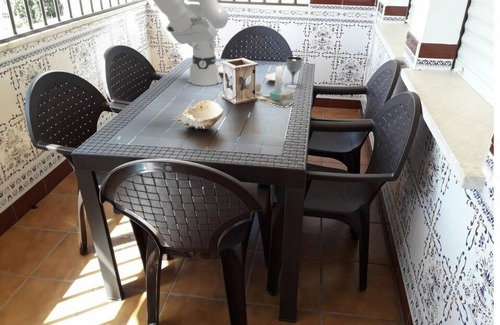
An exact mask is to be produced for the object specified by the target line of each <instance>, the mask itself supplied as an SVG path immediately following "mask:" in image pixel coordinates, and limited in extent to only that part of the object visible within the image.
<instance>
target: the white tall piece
mask: <svg viewBox="0 0 500 325" xmlns="http://www.w3.org/2000/svg"><path fill="white" fill-rule="evenodd" d="M282 79H283V66H279V65H278V66H275V77H274V91H272V92H269V95H270V98H271V99H275V100H279V97H280V94H281V93H284V92H285V91H282V83H283V82H282Z"/></svg>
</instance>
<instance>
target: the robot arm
mask: <svg viewBox="0 0 500 325" xmlns="http://www.w3.org/2000/svg"><path fill="white" fill-rule="evenodd" d="M152 1H153V3H155V5H156V6H157V8H158V9H159V11H160V12H161V13H162V14H164V15H165V16H166V17H167V19H168V21H169V23H168V24H167V26H166V30H167V32H169V33H170V34H171V36H172V37H173V38H174V39H175V41H176V42H178V43H179V44H181V45H184V44H185V45H186V44H187V45H188V46H189V47H191V48H192V58H191V59H192V64H191V65H190V66H189V78H187V79H186V82H187V83H191V84H192V85H195V86H203V87H204V86H205V87H206V86H214V85H216V84H217V83H218V84H222V83H223V79H222V77H221V75H220V73H219V67H218V65H217V64H216V61H217V60H216V55H215V48H216V46H217V44H216V43H215V41H214V39H215V37H217V35H218V30H220V29H223V28H225V27H226V26H227V24H228V20H229V16H228V12H227V10H226V8H225V7H223V6H222V5H221V4H220V3H219V2H218V0H196V1H197V2H198V3H199V4H197V3H189V4H187V2H185V0H152ZM221 82H222V83H221ZM218 84H217V85H218Z"/></svg>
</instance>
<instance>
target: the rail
mask: <svg viewBox="0 0 500 325" xmlns="http://www.w3.org/2000/svg"><path fill="white" fill-rule="evenodd" d="M254 83H255V98H257V100H260V101H259V102H261V101H264V102H268V103H272V104H275V105H279V106H283V107H285V106H287V105H289V104H290V103H292V102H293V103H294V94H295V93H294V91H291V90H287V91H283V92H284V93H281V94H280V97H279V100H275V99H271V98H270V94H267V93H262V92H261V83H259V82H254ZM257 100H256V101H257ZM264 102H263V103H264ZM268 103H267V104H268ZM275 105H274V106H275Z"/></svg>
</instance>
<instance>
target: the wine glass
mask: <svg viewBox="0 0 500 325" xmlns="http://www.w3.org/2000/svg"><path fill="white" fill-rule="evenodd" d="M302 62H303V58H302V57H300V56H293V55H291V56H286V68H287V70H288V72H289V73H290V76H291V83H290V84H291V85H295V84H294V80H295V76H296V75H297V73H298V72H299V71H300V69H301V67H302V64H303V63H302Z"/></svg>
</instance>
